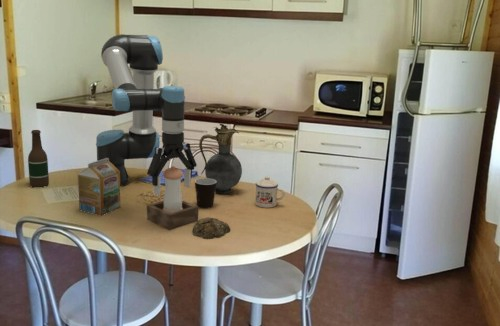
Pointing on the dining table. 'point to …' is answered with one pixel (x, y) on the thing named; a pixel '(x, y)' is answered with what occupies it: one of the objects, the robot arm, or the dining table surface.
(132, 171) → the dining table surface
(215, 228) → the bread roll
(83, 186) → the milk carton
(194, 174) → the dish towel
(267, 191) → the teacup with lid
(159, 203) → the square wooden tray
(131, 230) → the dining table surface
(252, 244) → the dining table surface
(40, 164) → the beer bottle
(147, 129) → the robot arm
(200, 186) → the coffee mug
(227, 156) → the pitcher
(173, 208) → the pepper shaker
